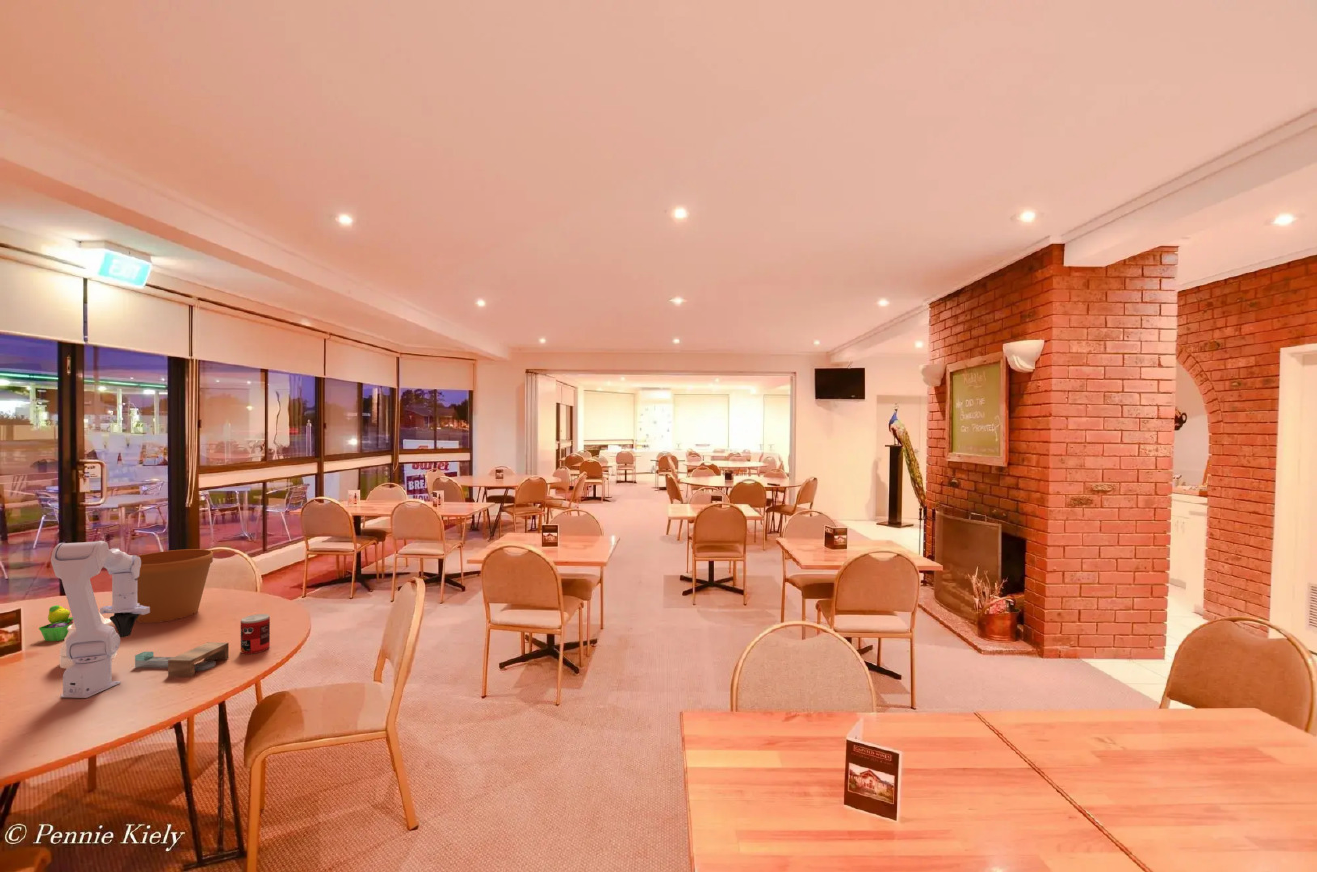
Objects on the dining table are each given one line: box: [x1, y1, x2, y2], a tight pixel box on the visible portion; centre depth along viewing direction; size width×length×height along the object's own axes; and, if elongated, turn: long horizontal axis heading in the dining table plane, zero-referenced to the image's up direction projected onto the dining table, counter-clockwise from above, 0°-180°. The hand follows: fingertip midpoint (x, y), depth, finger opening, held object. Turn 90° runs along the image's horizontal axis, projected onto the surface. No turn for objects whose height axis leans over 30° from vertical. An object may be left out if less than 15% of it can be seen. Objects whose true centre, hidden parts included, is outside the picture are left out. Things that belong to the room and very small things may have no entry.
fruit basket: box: [38, 604, 74, 642], centre depth 199 cm, size 11×9×11 cm
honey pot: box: [59, 612, 118, 670], centre depth 179 cm, size 13×13×18 cm
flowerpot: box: [136, 548, 214, 624], centre depth 222 cm, size 28×28×24 cm
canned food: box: [240, 613, 271, 655], centre depth 188 cm, size 8×8×11 cm
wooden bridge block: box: [167, 641, 230, 678], centre depth 174 cm, size 14×7×5 cm, turn 177°
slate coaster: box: [194, 660, 216, 672], centre depth 174 cm, size 6×6×1 cm
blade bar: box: [134, 651, 175, 669], centre depth 174 cm, size 3×15×4 cm, turn 88°
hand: (125, 636), depth 175 cm, fingers closed
